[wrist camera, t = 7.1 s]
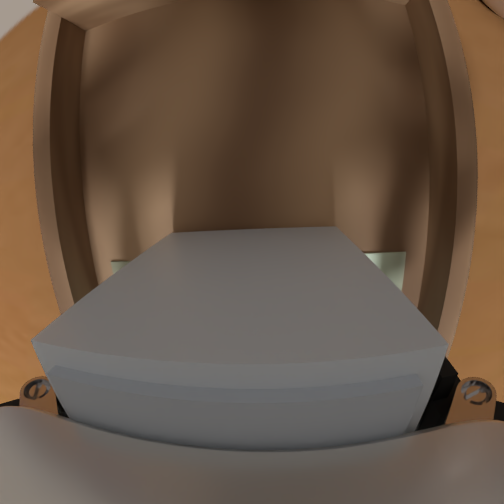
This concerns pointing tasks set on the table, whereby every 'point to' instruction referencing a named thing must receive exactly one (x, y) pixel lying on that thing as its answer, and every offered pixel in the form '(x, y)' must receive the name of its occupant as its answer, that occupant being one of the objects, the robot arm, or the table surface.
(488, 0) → the plastic bottle
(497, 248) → the table surface
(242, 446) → the grey block
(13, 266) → the table surface
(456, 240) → the bay
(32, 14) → the table surface
